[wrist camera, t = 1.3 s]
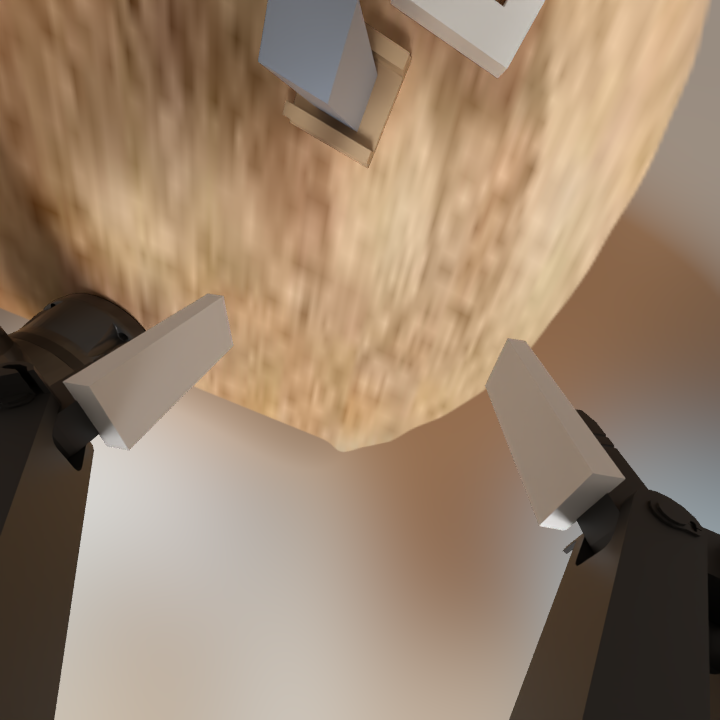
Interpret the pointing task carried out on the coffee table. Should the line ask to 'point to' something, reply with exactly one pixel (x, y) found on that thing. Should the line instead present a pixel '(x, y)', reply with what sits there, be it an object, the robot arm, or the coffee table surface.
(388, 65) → the wooden rail base
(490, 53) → the port
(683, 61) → the coffee table surface
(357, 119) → the plug
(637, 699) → the robot arm
